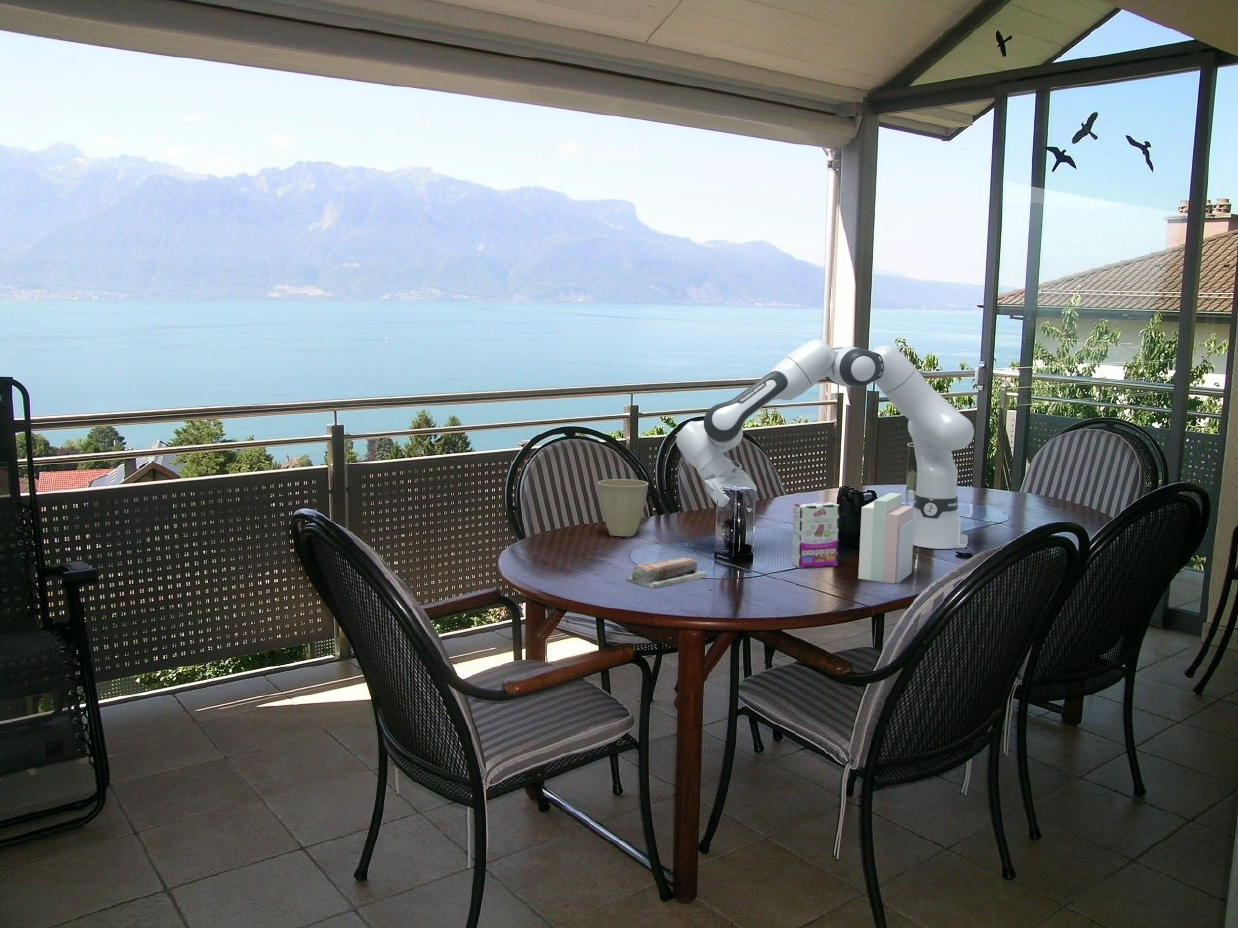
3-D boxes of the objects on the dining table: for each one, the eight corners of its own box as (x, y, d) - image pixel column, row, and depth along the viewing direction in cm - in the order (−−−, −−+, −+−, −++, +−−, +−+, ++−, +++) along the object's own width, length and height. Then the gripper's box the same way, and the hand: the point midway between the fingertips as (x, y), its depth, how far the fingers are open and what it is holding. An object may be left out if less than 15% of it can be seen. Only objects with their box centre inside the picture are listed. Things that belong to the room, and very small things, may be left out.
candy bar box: (829, 562, 257) (831, 501, 255) (838, 566, 252) (840, 504, 250) (790, 564, 254) (792, 502, 252) (798, 568, 249) (801, 506, 247)
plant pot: (647, 541, 280) (648, 486, 278) (596, 540, 281) (597, 486, 278) (647, 530, 295) (648, 478, 293) (598, 529, 295) (599, 478, 293)
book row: (875, 567, 252) (878, 491, 249) (912, 572, 247) (916, 495, 244) (858, 578, 240) (862, 499, 237) (897, 584, 235) (901, 503, 232)
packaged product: (653, 570, 228) (625, 563, 235) (653, 590, 228) (625, 582, 236) (707, 559, 239) (679, 552, 247) (707, 578, 240) (679, 571, 247)
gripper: (709, 470, 255) (742, 510, 251) (741, 461, 272) (773, 499, 268) (693, 485, 258) (726, 525, 254) (726, 475, 275) (757, 513, 271)
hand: (750, 512), depth 261 cm, fingers closed
